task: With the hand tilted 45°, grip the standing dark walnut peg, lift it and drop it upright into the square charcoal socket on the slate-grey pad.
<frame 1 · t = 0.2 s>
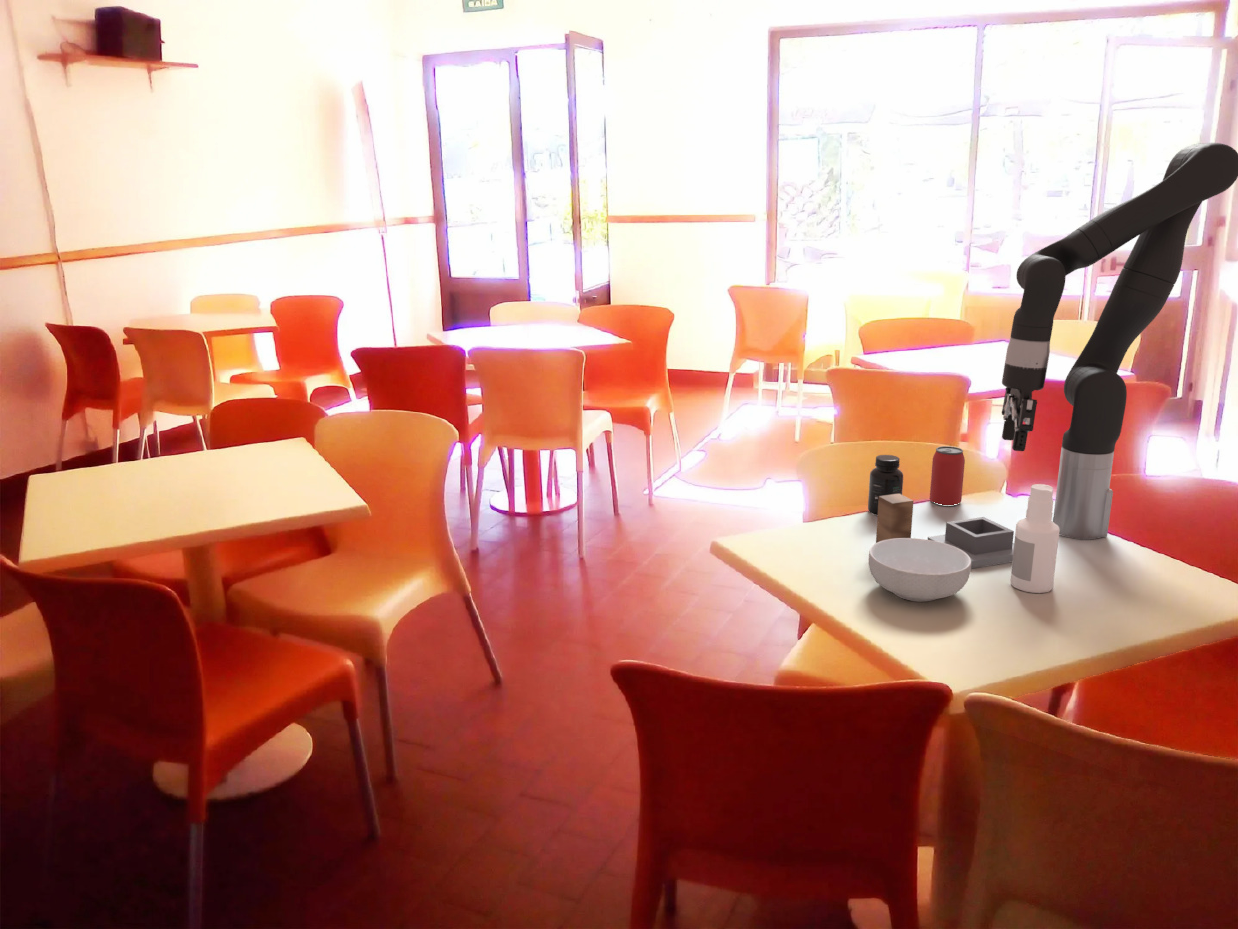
hand: (1012, 445, 187), 18 cm above the table, tool pointing down, fingers open, 8 cm apart
walnut peg: (892, 553, 182), on the table
socket pad: (977, 551, 182), on the table
beer can: (945, 503, 209), on the table
cereal bowl: (916, 593, 165), on the table
supplement bottle: (884, 512, 204), on the table
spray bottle: (1031, 586, 166), on the table
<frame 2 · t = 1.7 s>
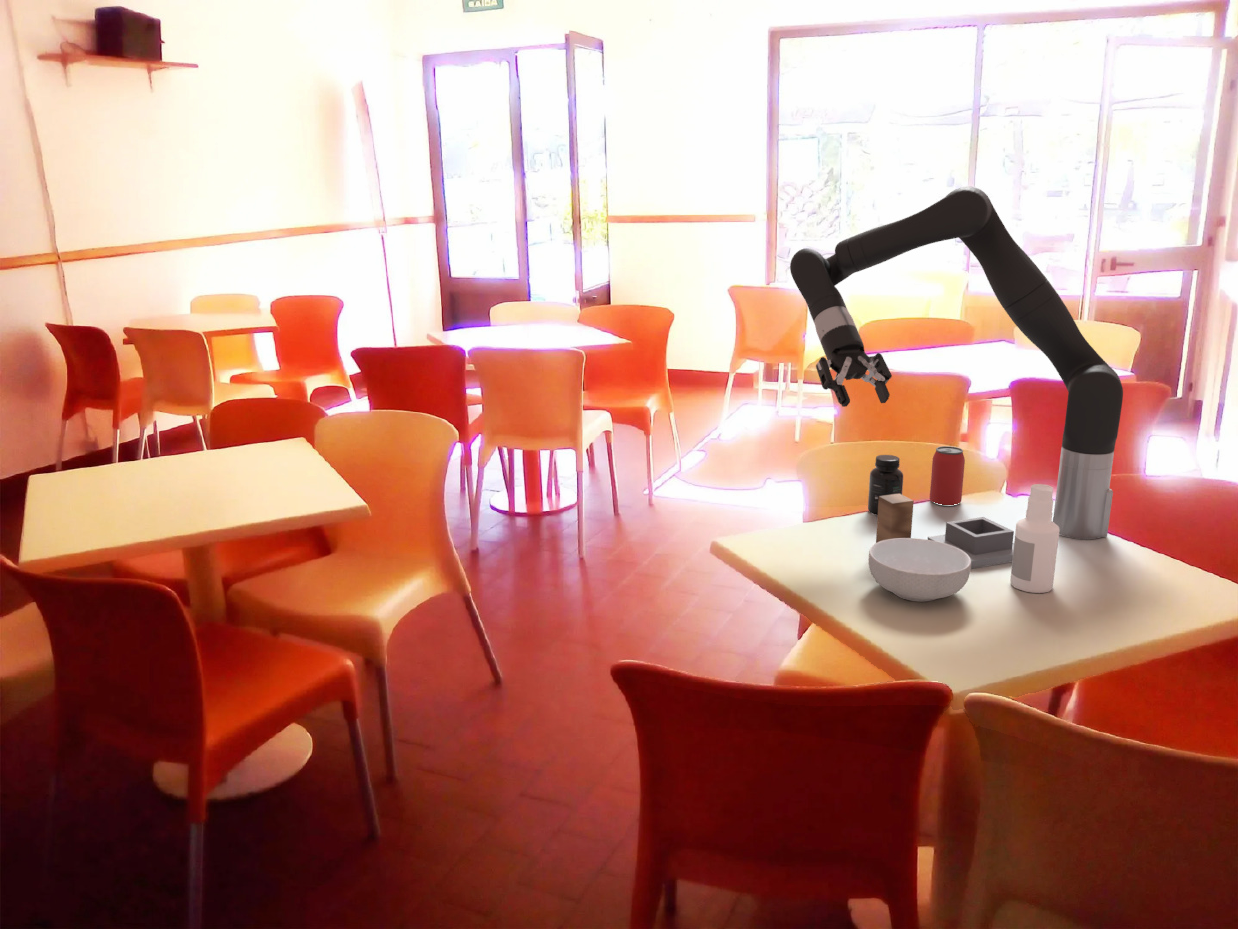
hand: (866, 402, 185), 27 cm above the table, tool tilted 45°, fingers open, 8 cm apart
nothing on the table moved.
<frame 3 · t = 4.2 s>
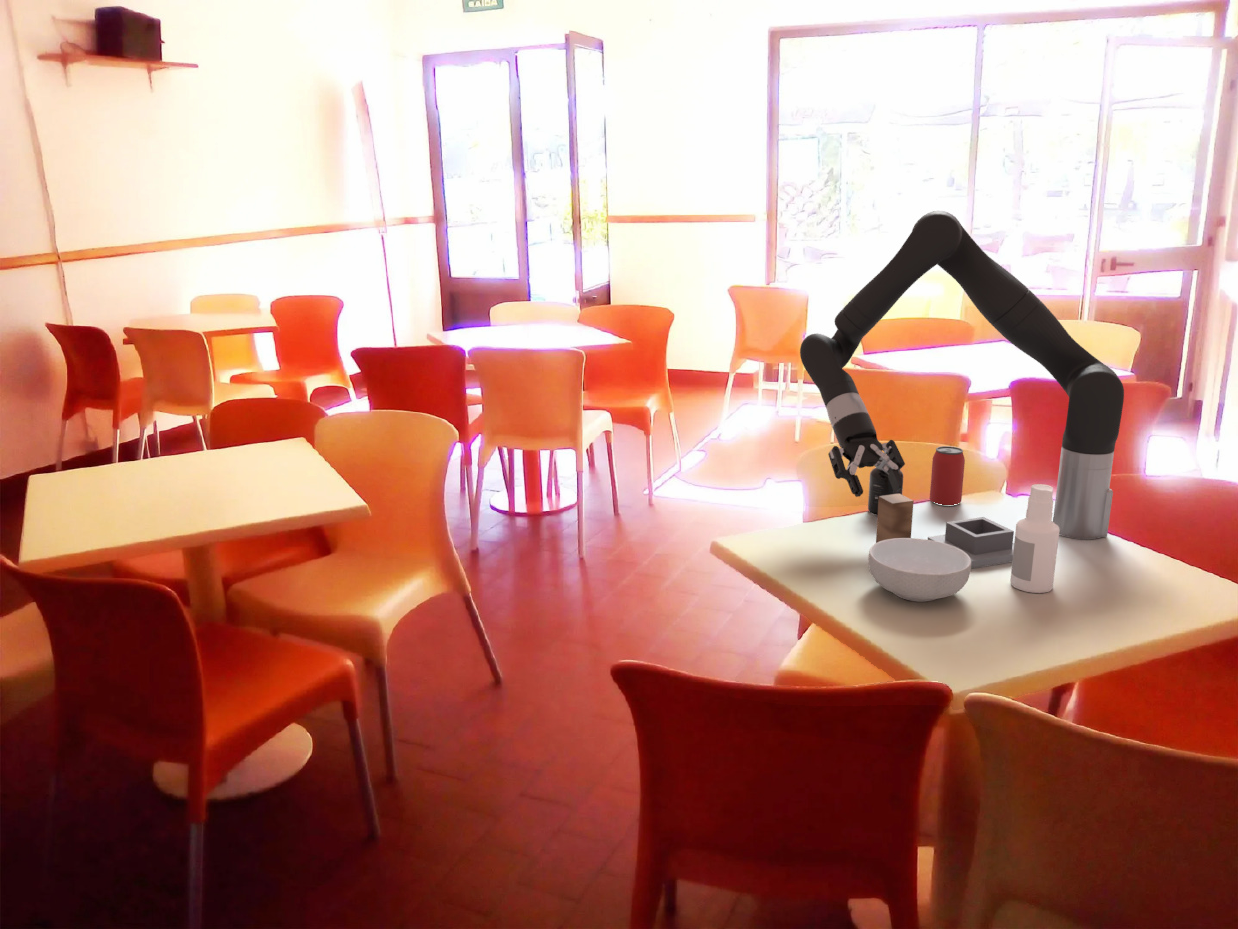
hand: (879, 492, 184), 10 cm above the table, tool tilted 45°, fingers open, 8 cm apart
nothing on the table moved.
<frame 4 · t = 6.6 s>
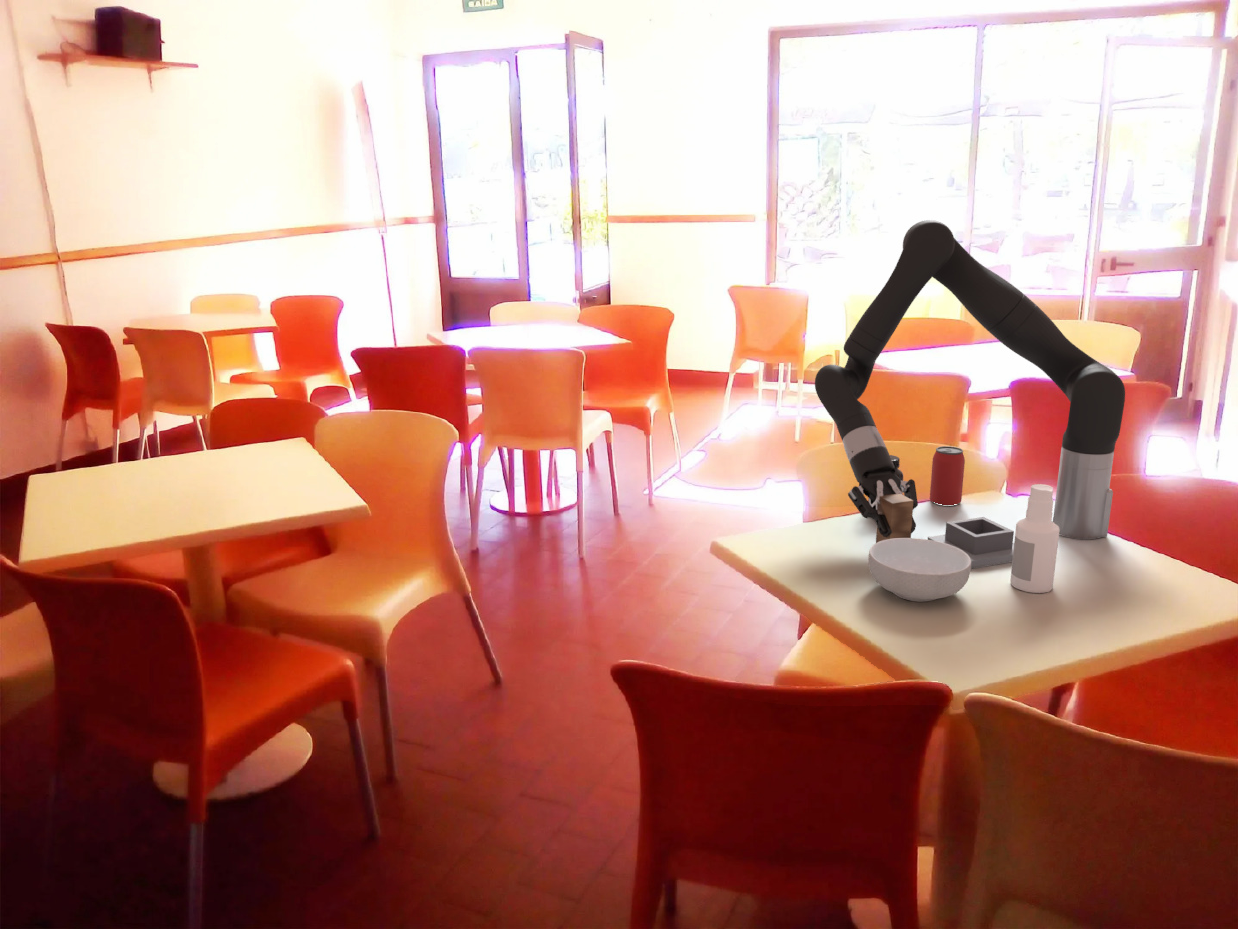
hand: (899, 533, 179), 5 cm above the table, tool tilted 45°, fingers closed on walnut peg, 4 cm apart
walnut peg: (892, 553, 182), on the table, touching gripper
everything else where it was.
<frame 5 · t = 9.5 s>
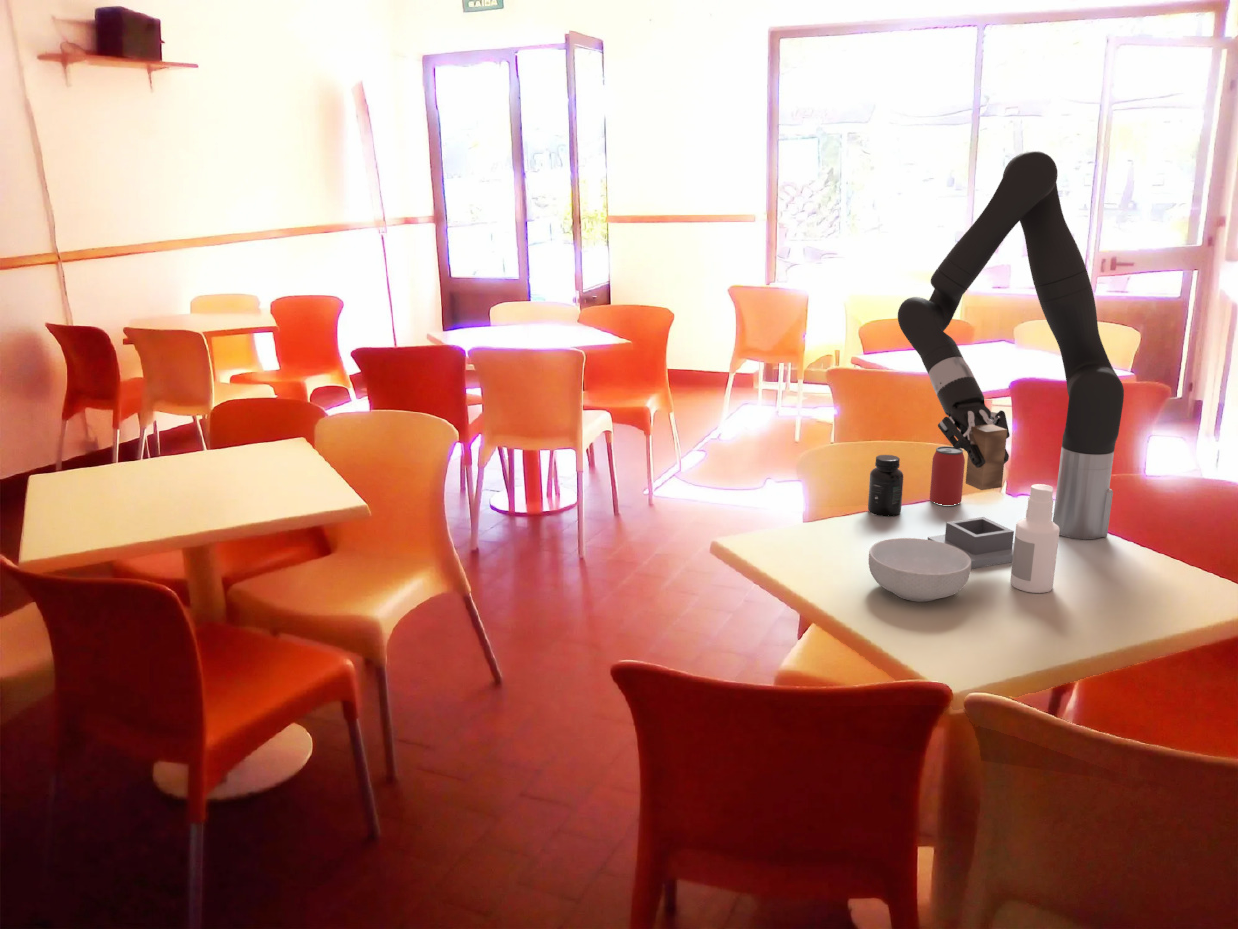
hand: (992, 463, 175), 18 cm above the table, tool tilted 45°, fingers closed on walnut peg, 4 cm apart
walnut peg: (983, 485, 178), point 13 cm above the table, touching gripper
everything else where it was.
when the fingers open (8 cm above the table, at t = 12.4 s): walnut peg drops 1 cm, resting on socket pad.
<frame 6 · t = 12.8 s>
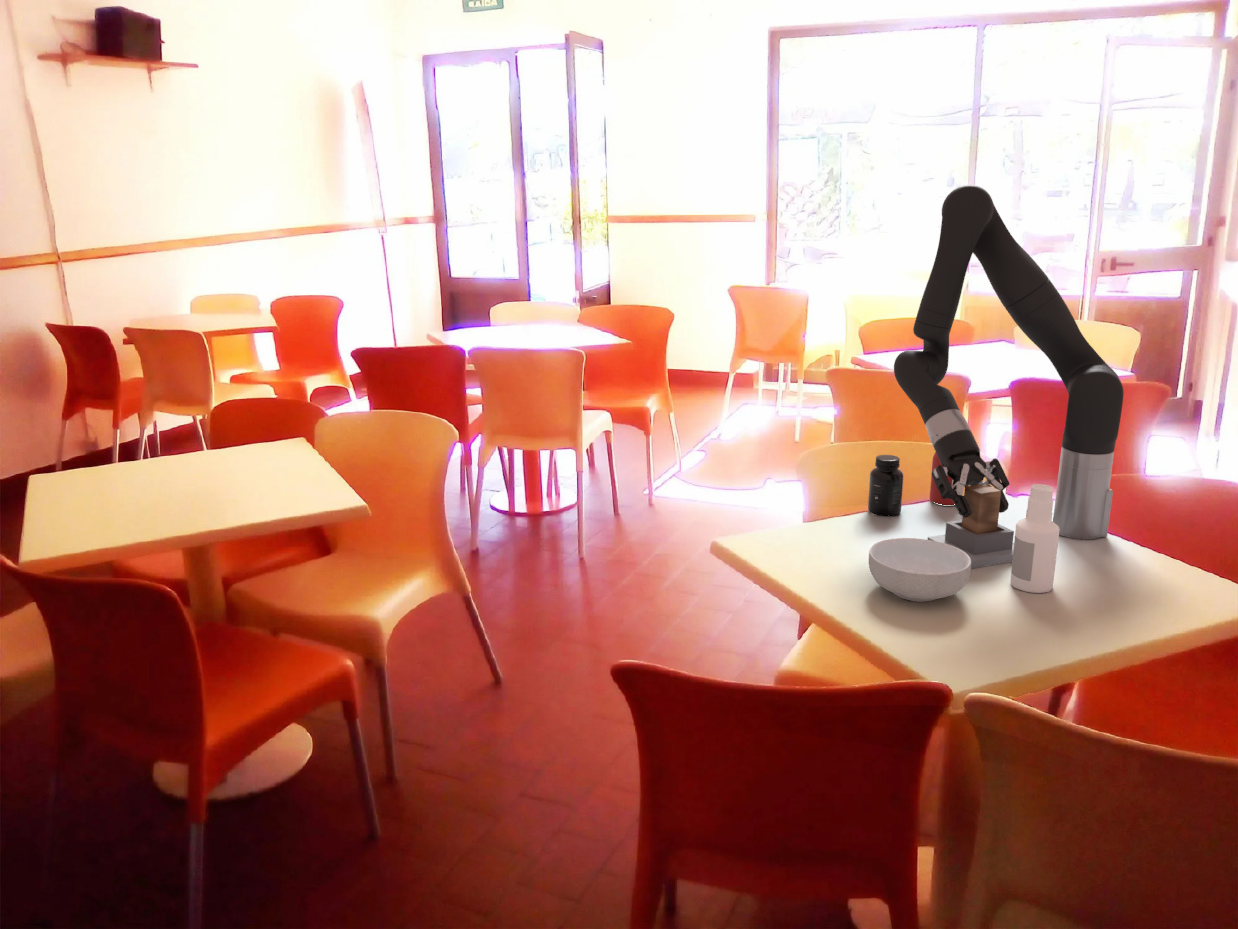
hand: (986, 513, 178), 8 cm above the table, tool tilted 45°, fingers open, 7 cm apart
walnut peg: (977, 543, 181), point 1 cm above the table, touching socket pad
everything else where it was.
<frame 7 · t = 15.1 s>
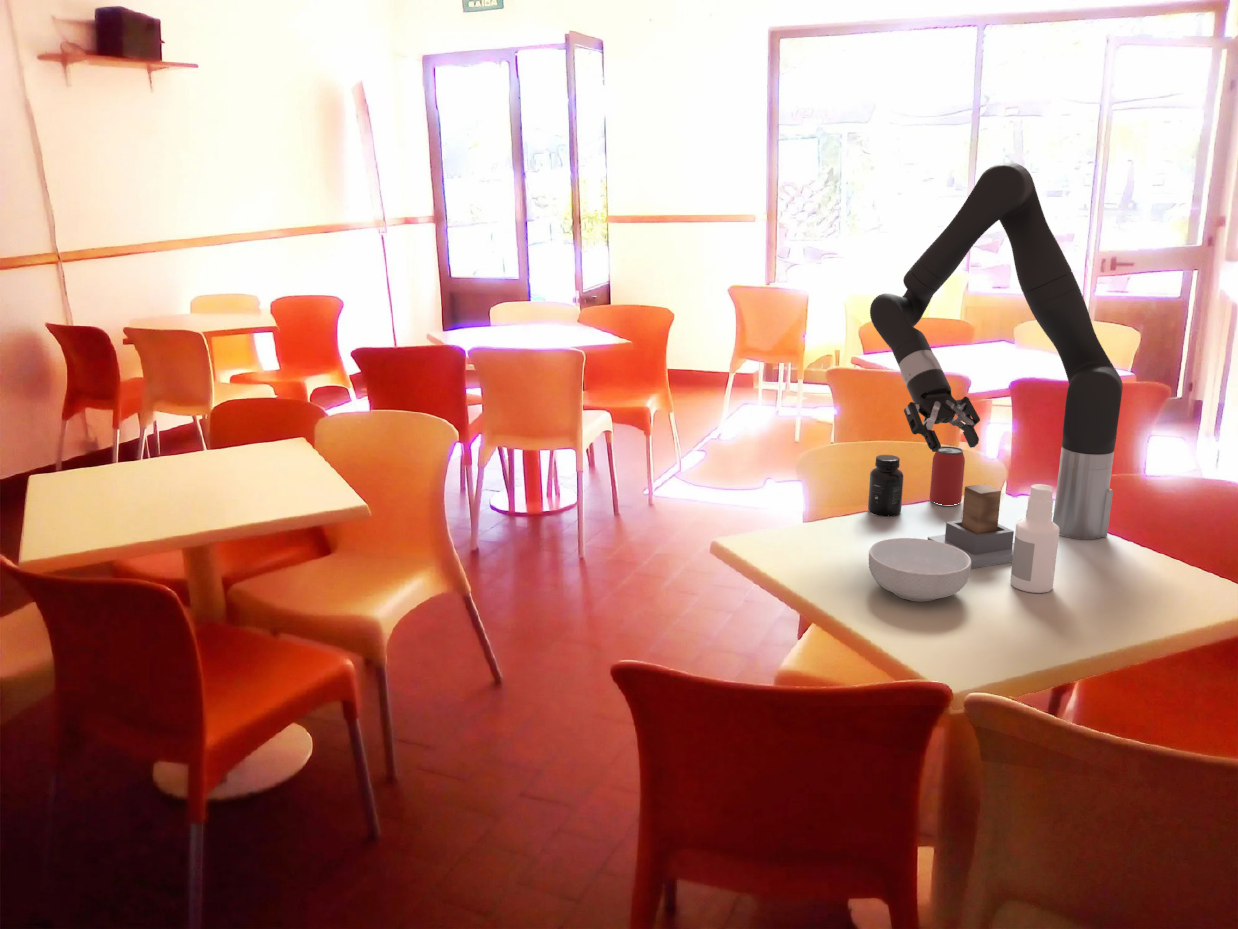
hand: (956, 447, 184), 18 cm above the table, tool tilted 45°, fingers open, 8 cm apart
nothing on the table moved.
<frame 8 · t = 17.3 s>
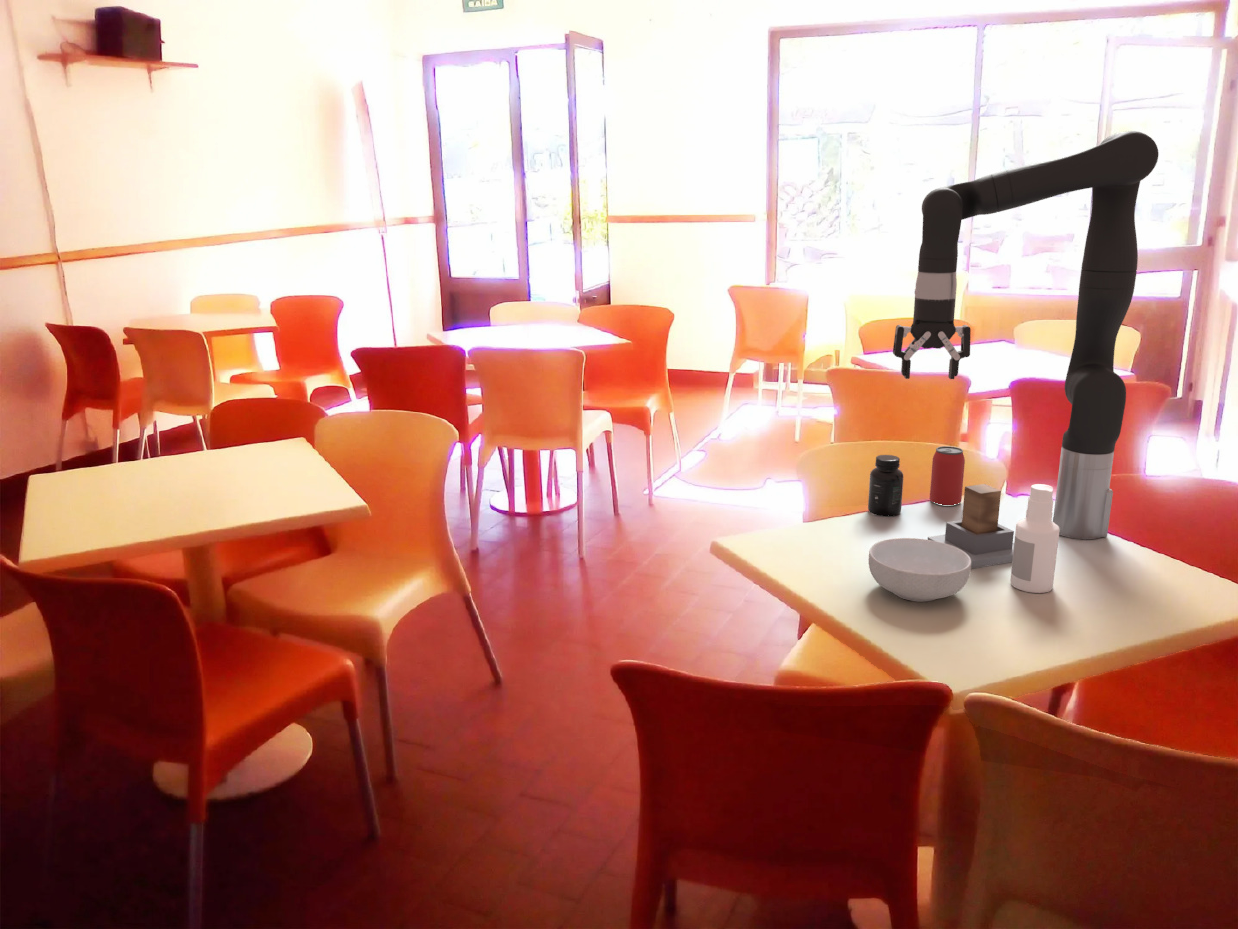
hand: (929, 378, 189), 30 cm above the table, tool pointing down, fingers open, 8 cm apart
nothing on the table moved.
at the end: walnut peg 0.1 cm off-centre on the socket pad, point 1.5 cm above the socket pad's base; walnut peg tilted 0°; the gripper is holding nothing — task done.
